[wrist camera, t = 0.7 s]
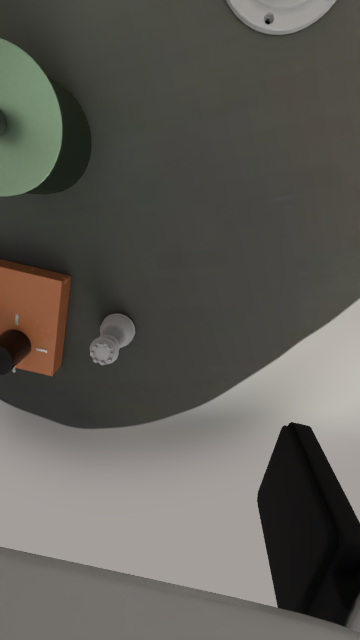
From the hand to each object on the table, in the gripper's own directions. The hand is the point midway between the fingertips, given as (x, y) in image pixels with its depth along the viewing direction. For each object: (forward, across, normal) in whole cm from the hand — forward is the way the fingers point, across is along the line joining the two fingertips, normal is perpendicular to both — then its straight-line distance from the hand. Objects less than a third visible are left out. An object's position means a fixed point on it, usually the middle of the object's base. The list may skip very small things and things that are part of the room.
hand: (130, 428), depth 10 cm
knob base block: (+32, +18, +11) cm, 39 cm away
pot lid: (+23, +18, -10) cm, 31 cm away
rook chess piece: (+32, +6, +10) cm, 34 cm away
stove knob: (+29, +18, +14) cm, 37 cm away
